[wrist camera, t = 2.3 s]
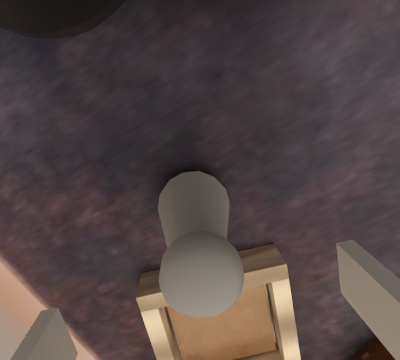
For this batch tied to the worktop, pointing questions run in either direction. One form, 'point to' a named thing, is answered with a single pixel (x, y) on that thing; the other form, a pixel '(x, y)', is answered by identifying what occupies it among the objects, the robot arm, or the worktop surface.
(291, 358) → the beige square tray
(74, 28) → the robot arm
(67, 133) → the worktop surface
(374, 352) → the food container
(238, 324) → the plate
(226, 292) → the salt shaker
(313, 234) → the worktop surface
